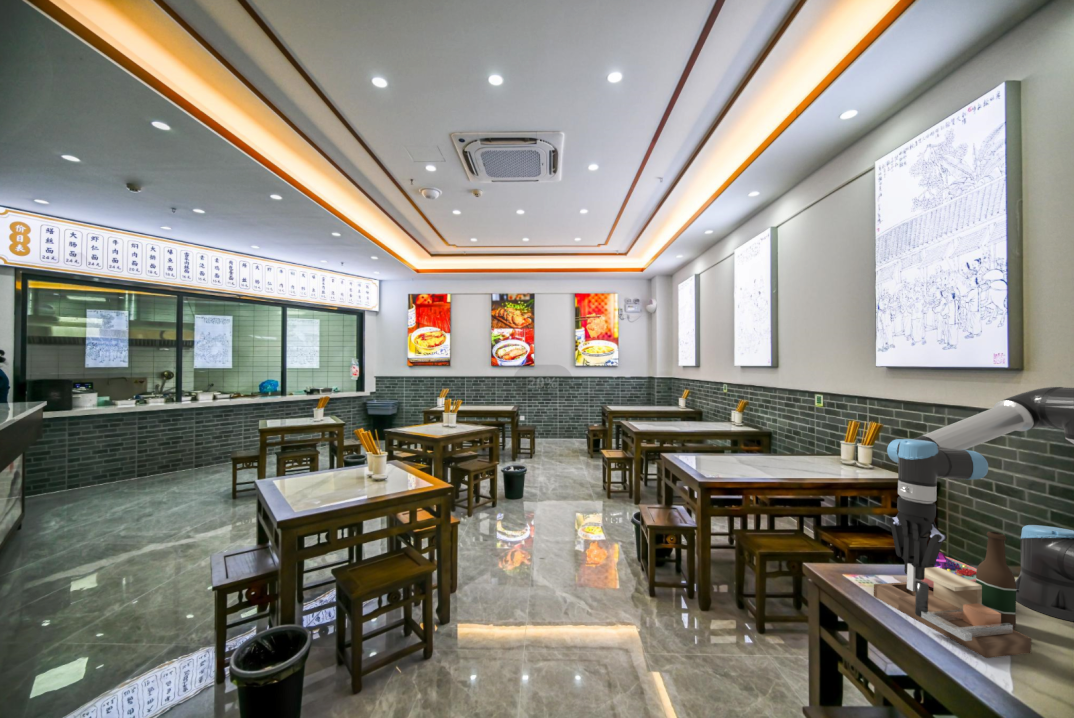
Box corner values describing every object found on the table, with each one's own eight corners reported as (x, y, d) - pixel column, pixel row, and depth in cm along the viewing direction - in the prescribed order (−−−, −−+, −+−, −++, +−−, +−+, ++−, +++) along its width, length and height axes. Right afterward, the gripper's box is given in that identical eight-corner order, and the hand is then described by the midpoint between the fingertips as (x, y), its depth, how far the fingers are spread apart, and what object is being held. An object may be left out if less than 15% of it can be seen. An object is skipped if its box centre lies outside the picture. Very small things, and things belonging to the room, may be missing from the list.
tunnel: (937, 595, 118) (938, 567, 118) (981, 616, 108) (981, 585, 108) (912, 597, 116) (912, 568, 116) (954, 618, 106) (954, 587, 107)
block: (978, 619, 107) (978, 603, 107) (1000, 629, 102) (1001, 613, 103) (963, 620, 106) (963, 604, 106) (985, 631, 101) (985, 614, 102)
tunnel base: (911, 593, 125) (911, 581, 126) (1030, 653, 99) (1031, 638, 100) (873, 596, 123) (873, 584, 123) (986, 658, 97) (986, 642, 97)
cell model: (926, 601, 121) (927, 562, 122) (891, 570, 140) (892, 537, 141) (1001, 614, 116) (1002, 573, 116) (953, 580, 135) (954, 545, 136)
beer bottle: (1005, 619, 114) (1007, 531, 114) (1024, 635, 106) (1026, 541, 107) (967, 611, 117) (969, 525, 117) (983, 626, 110) (985, 535, 110)
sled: (961, 608, 111) (962, 577, 111) (1017, 635, 100) (1018, 601, 100) (912, 612, 108) (913, 581, 108) (964, 641, 97) (965, 605, 97)
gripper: (879, 491, 115) (877, 577, 114) (933, 507, 102) (930, 604, 102) (901, 491, 116) (899, 576, 116) (956, 507, 104) (954, 602, 103)
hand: (913, 589), depth 109 cm, fingers closed
